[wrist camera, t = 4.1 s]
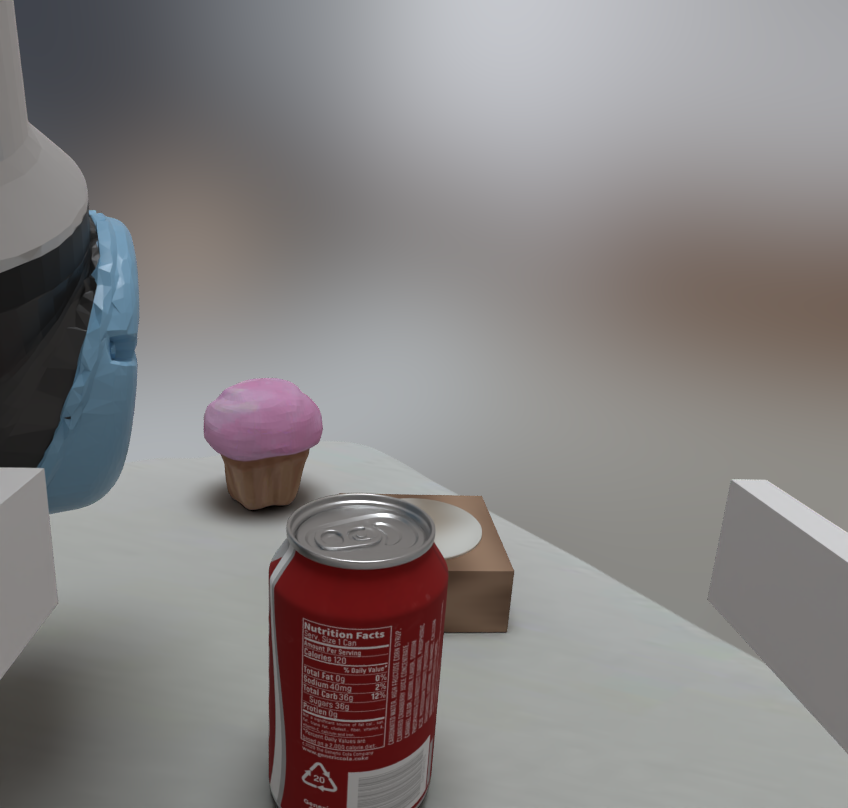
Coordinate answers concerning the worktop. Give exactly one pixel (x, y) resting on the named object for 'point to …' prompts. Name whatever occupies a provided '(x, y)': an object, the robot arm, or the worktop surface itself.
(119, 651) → the worktop surface
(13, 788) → the worktop surface
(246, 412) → the cupcake
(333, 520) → the soda can
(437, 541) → the plinth
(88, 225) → the robot arm
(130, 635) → the worktop surface
